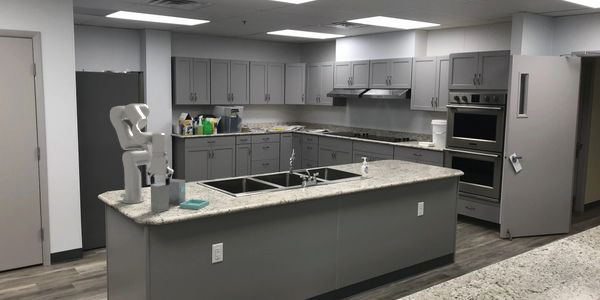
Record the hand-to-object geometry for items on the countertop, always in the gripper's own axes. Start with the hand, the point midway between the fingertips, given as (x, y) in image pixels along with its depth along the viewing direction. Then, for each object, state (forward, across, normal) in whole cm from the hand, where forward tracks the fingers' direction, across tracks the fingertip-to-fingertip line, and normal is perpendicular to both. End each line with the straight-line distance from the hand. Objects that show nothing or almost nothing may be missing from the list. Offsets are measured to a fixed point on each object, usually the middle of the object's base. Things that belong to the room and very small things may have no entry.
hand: (160, 184), depth 276 cm
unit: (+15, +2, -19) cm, 25 cm away
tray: (+16, -12, -17) cm, 26 cm away
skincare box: (+16, +1, 0) cm, 16 cm away
